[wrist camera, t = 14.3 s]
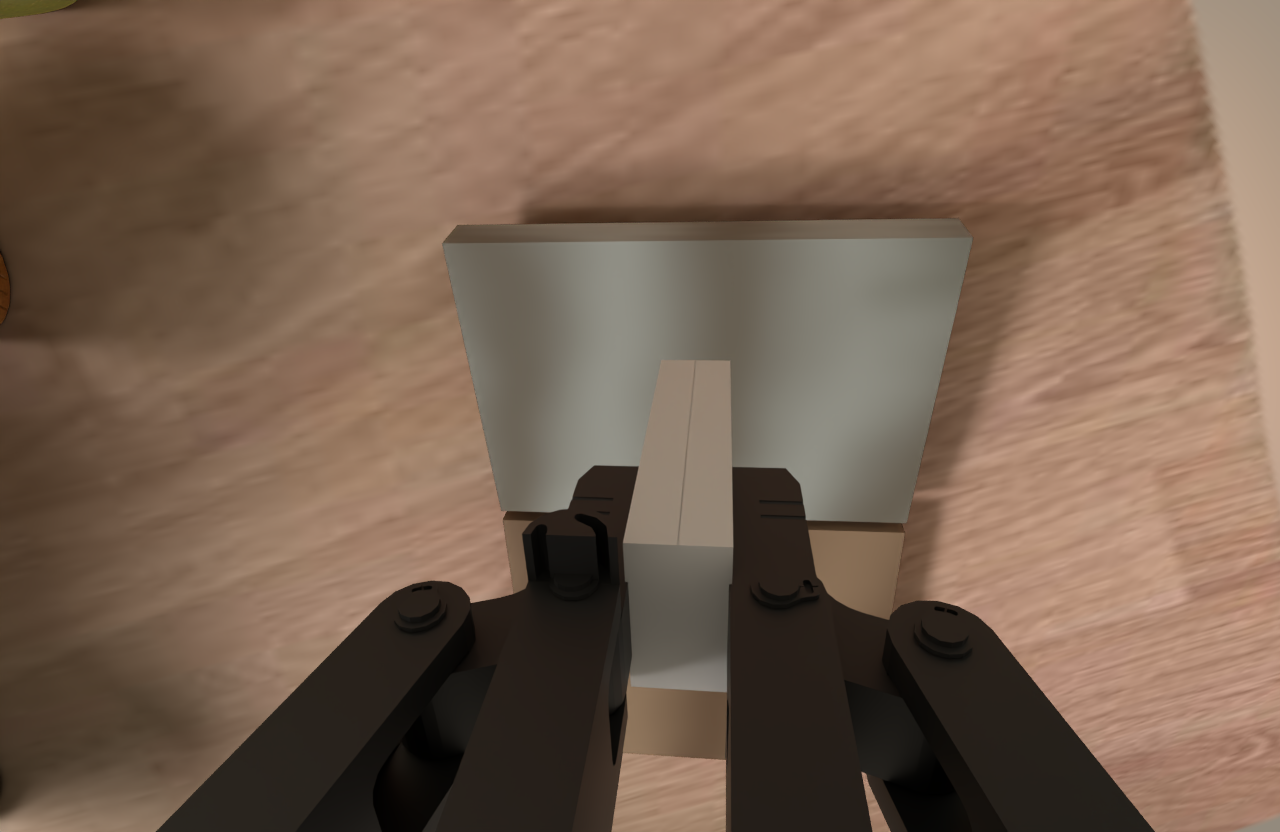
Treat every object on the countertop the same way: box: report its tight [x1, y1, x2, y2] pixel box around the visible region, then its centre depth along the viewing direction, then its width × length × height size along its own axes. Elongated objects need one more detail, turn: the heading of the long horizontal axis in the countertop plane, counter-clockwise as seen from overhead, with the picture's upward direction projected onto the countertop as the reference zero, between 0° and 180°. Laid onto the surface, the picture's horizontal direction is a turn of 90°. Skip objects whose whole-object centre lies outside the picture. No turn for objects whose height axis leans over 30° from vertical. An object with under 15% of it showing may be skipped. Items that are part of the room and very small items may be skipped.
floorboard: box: [503, 511, 905, 760], centre depth 28 cm, size 14×12×1 cm
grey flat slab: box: [442, 218, 973, 523], centre depth 22 cm, size 14×10×1 cm
